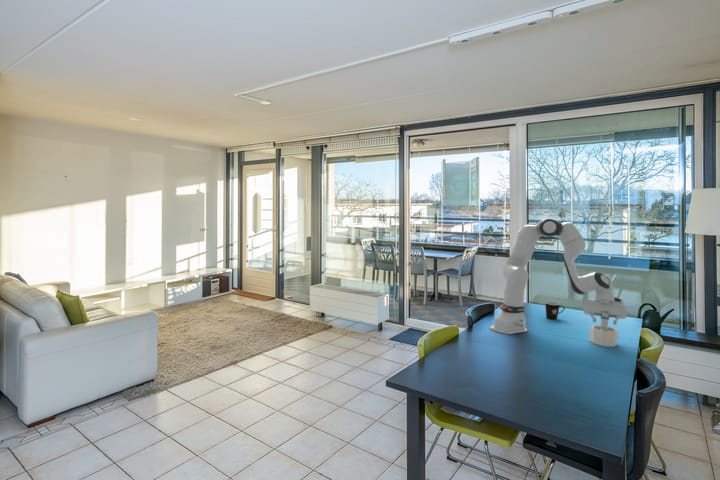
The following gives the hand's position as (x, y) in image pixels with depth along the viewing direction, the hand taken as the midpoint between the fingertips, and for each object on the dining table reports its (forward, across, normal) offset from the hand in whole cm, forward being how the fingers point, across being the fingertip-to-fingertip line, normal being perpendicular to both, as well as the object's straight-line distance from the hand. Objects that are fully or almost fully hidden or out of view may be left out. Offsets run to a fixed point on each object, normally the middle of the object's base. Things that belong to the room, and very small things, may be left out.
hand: (604, 322), depth 213 cm
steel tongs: (+6, 0, +8) cm, 10 cm away
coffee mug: (-20, -26, +37) cm, 49 cm away
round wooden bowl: (+8, 0, +8) cm, 11 cm away
